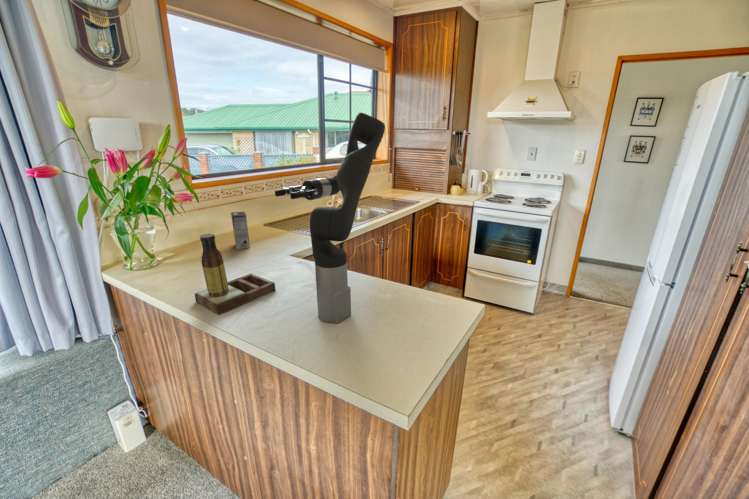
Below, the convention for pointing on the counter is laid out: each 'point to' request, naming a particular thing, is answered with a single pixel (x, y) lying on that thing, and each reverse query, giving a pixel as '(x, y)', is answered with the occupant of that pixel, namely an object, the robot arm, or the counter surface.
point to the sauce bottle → (213, 267)
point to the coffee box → (240, 230)
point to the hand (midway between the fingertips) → (283, 194)
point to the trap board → (236, 293)
